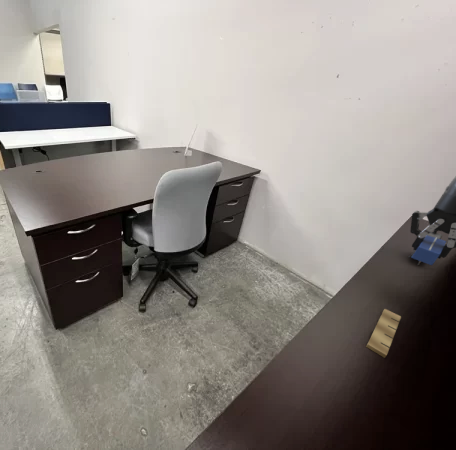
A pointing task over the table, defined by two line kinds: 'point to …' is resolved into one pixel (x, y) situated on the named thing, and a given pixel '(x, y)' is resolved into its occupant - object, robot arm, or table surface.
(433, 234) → the alarm clock
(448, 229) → the robot arm
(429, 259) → the pencil case
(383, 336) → the ruler
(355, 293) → the table surface
